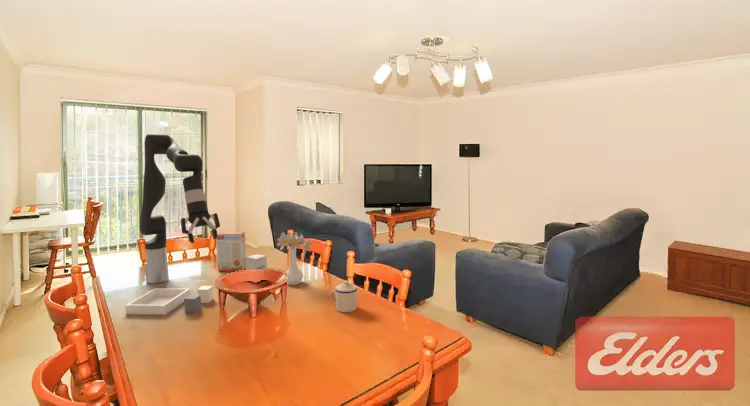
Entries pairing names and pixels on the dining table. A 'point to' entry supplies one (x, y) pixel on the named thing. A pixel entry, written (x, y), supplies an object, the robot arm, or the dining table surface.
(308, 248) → the flower vase
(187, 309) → the charcoal block
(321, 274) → the dining table surface
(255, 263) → the supplement box
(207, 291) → the cream block
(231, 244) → the cracker box
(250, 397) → the dining table surface
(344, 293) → the teacup with lid
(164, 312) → the tray
